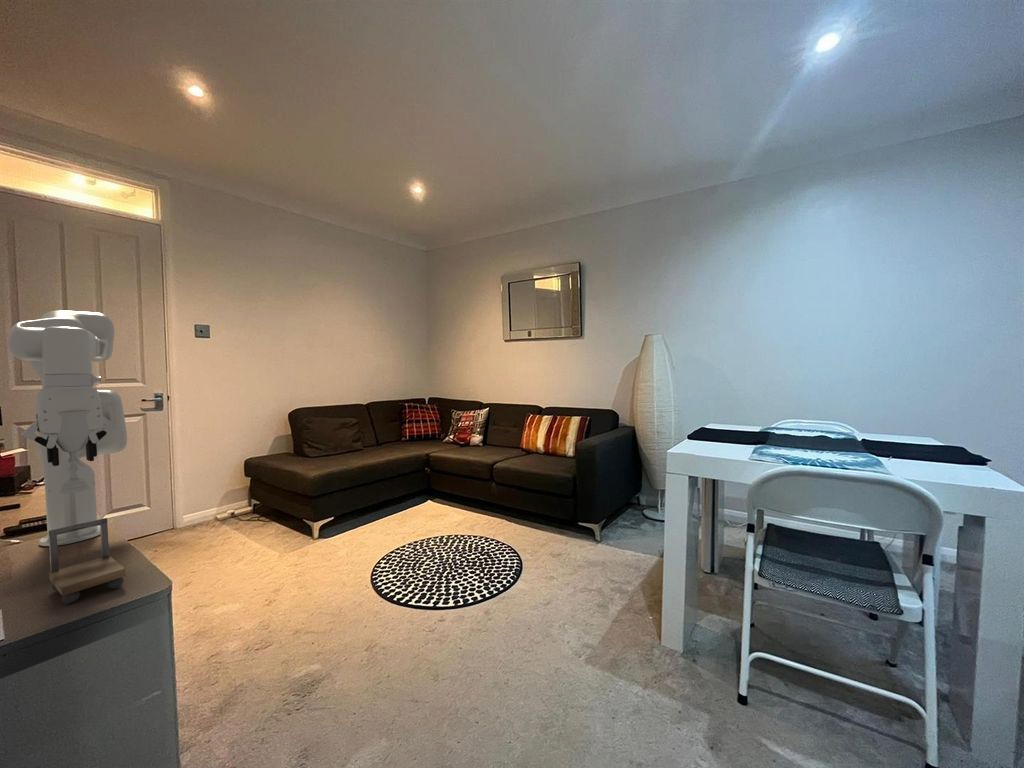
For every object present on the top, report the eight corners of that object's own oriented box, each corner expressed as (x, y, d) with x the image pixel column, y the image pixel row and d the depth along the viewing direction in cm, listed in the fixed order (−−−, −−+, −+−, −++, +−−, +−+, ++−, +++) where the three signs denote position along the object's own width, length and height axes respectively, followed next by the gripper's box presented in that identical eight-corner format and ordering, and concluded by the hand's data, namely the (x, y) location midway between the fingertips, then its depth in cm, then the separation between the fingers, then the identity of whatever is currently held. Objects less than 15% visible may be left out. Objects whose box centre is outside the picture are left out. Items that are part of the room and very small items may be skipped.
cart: (50, 590, 85) (46, 530, 85) (110, 572, 93) (107, 517, 92) (62, 608, 78) (59, 542, 78) (126, 587, 86) (123, 527, 85)
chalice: (43, 496, 89) (38, 413, 89) (61, 488, 96) (57, 410, 95) (88, 491, 92) (83, 411, 92) (103, 484, 99) (99, 408, 98)
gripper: (115, 381, 102) (119, 454, 103) (7, 383, 88) (12, 468, 89) (124, 381, 98) (128, 457, 99) (12, 384, 84) (17, 473, 85)
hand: (73, 462), depth 94 cm, fingers closed on chalice, 4 cm apart
